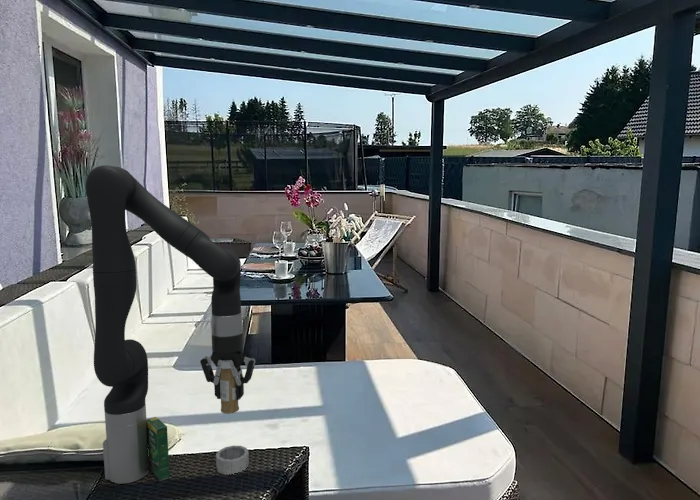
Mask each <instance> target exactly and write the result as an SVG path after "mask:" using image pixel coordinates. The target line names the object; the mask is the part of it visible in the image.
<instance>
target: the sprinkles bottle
mask: <svg viewBox="0 0 700 500" xmlns="http://www.w3.org/2000/svg"><path fill="white" fill-rule="evenodd" d="M228 361H229V360H223V361H222V362H221V366H220V368H221V374H220V398H221V399H220V412H221V413H223V414H226V415H230V414H235V413H236V412H238V411H239V410H240V407H239V400H237V399H236V385H237V383H236V380H235V378H234V377H233V374H232V371H231V370H232V369H231V368H232V367H231V366H230V362H228Z"/></svg>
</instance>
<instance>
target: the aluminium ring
mask: <svg viewBox="0 0 700 500" xmlns="http://www.w3.org/2000/svg"><path fill="white" fill-rule="evenodd" d="M249 452H250V451H249V450H248V447H245V446H242V445H229V446H224V447H222V448H221V449H218V451H217V453H216V454H215V461H216V462H215V464H216V471H217V472H218V473H220V474H222V475H227V476H228V475H229V474H230V475H229V476H232V475H231V474H233V475H235V474H234V473H238V472H241V471H242V470H244V471H246V470H247V469H248V468H249V466H250V455H249ZM248 465H249V466H248ZM247 467H248V468H247ZM246 468H247V469H246ZM245 469H246V470H245ZM241 473H242V472H241ZM238 474H239V473H238Z"/></svg>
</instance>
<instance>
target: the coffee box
mask: <svg viewBox="0 0 700 500" xmlns="http://www.w3.org/2000/svg"><path fill="white" fill-rule="evenodd" d="M146 419H147V418H146ZM147 436H148V453H149V470H150V471H151V472H152V474H153V475H154V476H155V478H156V479H157V480H158V481H159V482H162V481H165V480H167V479H169V478H170V477H171V475H170V473H171V472H170V457H169V455H170V454H169V439H168V438H169V437H168V426H167V425H166V424H165V423H164V422H163V421H161V419H159V418H158V417H157V416H154V417H151V418H148V419H147Z"/></svg>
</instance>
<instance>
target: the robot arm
mask: <svg viewBox="0 0 700 500" xmlns="http://www.w3.org/2000/svg"><path fill="white" fill-rule="evenodd" d="M86 177H87V178H86V181H85V195H86V199H87V200H86V201H87V205H88V211H89V218H90V224H91V225H90V226H91V249H92V250H91V251H92V254H91V255H92V275H93V276H92V279H93V291H94V315H95V316H94V319H95V328H94V330H95V331H94V332H95V333H94V334H95V335H94V346H93V347H94V348H93V370H94V373H95V376H96V378H97V379H98V381H99V382H100V383H101V384H102V385H103V386H105V387H110V388H111V389H110V391H109V392H108V393H107V395H106V396H105V397H104V400H103V409H104V423H105V438H106V439H105V440H103V442H102V452H103V453H102V454H103V464H104V467H103V468H104V479H105V480H109V481H110V482H112V483H113V482H114V484H119V485H121V484H130V483H133V482H137V481H139V480H141V479H143V478H144V477H146V476H147V475H148V474H149V472H150V466H149V451H148V436H147V407H146V397H147V395H148V391H149V363H148V361H149V359H148V355H147V351H146V349H145V347H144V346H143V345H142V344H141V342H139V341H137V340H135V339H125V337H126V336H125V335H126V334H125V331H126V324H127V319H128V316H129V314H130V311H131V308H132V306H133V303H134V301H135V296H136V293H137V286H138V285H137V266H136V264H137V263H136V260H135V255H134V254H135V253H134V250H133V248H132V245H131V242H130V239H129V236H128V231H127V227H126V211H127V212H129V213H131V214H133V215H134V216H136V217H137V218H138V219H140V220H141V221H143V222H144V223H145V224H146V225H148V226H149V227H150V228H151V229H152V230H153V231H154V232H155V233H156V234H157V235H158V236H159V237H160V238H161V239H162V240H163V241H165V242H166V243H167V244H168V245H170V246H171V247H173V248H174V249H176V250H177V251H178V252H180V253H181V254H183V255H184V256H186V257H187V258H189V259H190V260H192V262H194V263H195V265H197V266H198V267H199V268H200V269H201V270H202V271H204V273H206V274H207V275H208V276H210V277H211V278H212V282H213V283H212V284H213V285H212V286H213V287H212V288H213V290H212V293H211V297H210V298H211V301H210V303H211V305H210V306H211V322H210V327H211V328H210V329H211V330H210V331H211V351H212V353H211V354H210V356H204V357H203V358H202V359H200V361H199V362H200V365H201V368H202V372H203V374H204V378H205V380H206V382H207V383H213V387H214V396H215V398H216V399H217V400H221V398H220V374H221V368H220V366H221V362H222V361H223V360H229V361H228V362H230V366H231V367H232V368H231V369H232V370H231V371H232V374H233V377H234V378H235V380H236V383H237V385H236V399H237V400H238V401H240V400H241V399H242V397H243V396H244V394H245V389H244V388H245V385H244V384H248V383H249V382H250V381H251V380H252V376H253V372H254V369H255V366H256V362H257V359H256V358H255V357H252V358H250V357H247V356H246V354H245V352H244V331H243V330H244V325H243V317H242V300H241V278H242V277H241V276H242V275H241V274H242V273H241V272H242V265H241V259H240V256H239V255H238V253H236V252H235V251H234V250H232V249H227V248H225V249H224V248H222V247H221V246H219V245H218V244H217V243H215V242H214V241H212V240H211V238H210V236H209V235H207V233H206V232H204V231H203V230H201V229H200V228H198V227H197V226H196V225H194V224H193V223H191V222H190V221H189V220H187V219H186V218H185V217H182V216H181V215H180V214H178V213H177V212H175V211H174V210H173V209H171V208H169V207H168V205H165V204H164V203H162V202H161V201H160V200H159V199H158V198H156V197H155V195H153V194H152V193H151V192H149V190H147V189H146V188H145V187H144V186H143V185H142V184H141V183H140V182H139V181H138V180H137V179H136V178H135V177H134V176H133V175H132V174H131V173H130V172H129V171H128V170H126V169H125V168H122V167H121V166H120V167H119V166H115V165H114V166H113V165H106V164H105V165H98V166H96V167H94V168H92V170H90V172H89V173H88V175H87V176H86ZM212 363H213V365H214V366H215V367H216V370H215V373H214V370H213V367H212ZM243 363H244V364H245V367H246V371H245V373H244V374H245V375H243V369H242V367H241V366H242V364H243Z"/></svg>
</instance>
